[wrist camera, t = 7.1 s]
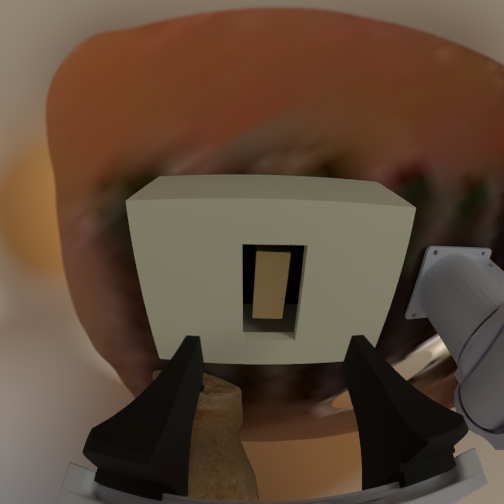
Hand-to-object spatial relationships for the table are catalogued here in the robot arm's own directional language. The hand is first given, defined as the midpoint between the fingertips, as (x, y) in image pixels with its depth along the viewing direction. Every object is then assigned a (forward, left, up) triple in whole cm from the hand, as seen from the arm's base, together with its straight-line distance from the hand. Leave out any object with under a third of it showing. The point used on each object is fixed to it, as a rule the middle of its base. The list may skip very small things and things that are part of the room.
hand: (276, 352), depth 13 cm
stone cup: (+6, +21, -11) cm, 24 cm away
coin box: (0, 0, -10) cm, 10 cm away
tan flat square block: (0, 0, -10) cm, 11 cm away
